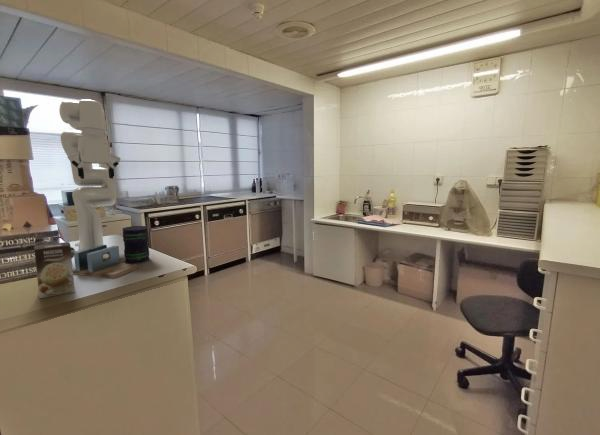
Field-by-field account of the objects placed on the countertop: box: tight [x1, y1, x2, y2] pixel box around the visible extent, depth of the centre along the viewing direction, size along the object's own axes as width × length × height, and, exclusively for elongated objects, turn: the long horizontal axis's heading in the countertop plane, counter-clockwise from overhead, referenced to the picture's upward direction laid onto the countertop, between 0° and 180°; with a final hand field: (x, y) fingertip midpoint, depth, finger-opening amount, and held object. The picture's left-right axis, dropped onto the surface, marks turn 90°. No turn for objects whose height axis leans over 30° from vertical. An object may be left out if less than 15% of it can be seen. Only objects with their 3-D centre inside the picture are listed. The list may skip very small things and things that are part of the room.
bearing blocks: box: [73, 244, 121, 273], centre depth 118 cm, size 8×13×7 cm, turn 168°
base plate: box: [73, 262, 138, 279], centre depth 118 cm, size 20×12×2 cm, turn 78°
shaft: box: [71, 247, 111, 260], centre depth 119 cm, size 22×5×5 cm, turn 78°
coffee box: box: [33, 241, 76, 299], centre depth 96 cm, size 9×6×16 cm
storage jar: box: [122, 225, 150, 265], centre depth 131 cm, size 10×10×15 cm
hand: (97, 178), depth 117 cm, fingers open, 9 cm apart
